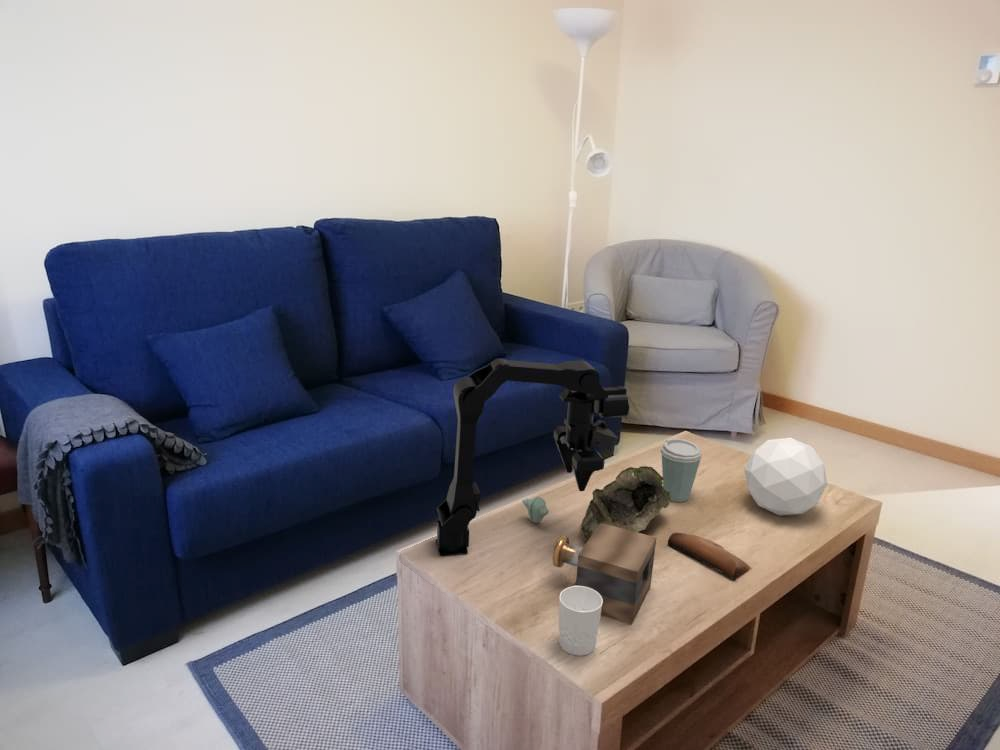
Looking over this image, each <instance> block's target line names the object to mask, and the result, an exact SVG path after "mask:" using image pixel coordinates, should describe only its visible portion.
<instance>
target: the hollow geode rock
mask: <svg viewBox="0 0 1000 750" xmlns="http://www.w3.org/2000/svg"><path fill="white" fill-rule="evenodd" d="M618 473H619V474H617V476H616V477H615V480H613V481H612V482H609V483H608V484H606V485H605V486H603V488H602V489H599V488H595V489H593V490H592V499H591V500H590V501H589V504H588V507H587V509H586V512H585V515H584V517H583V519H582V520H581V524H580V527H581V529H580V530H581V531H582V537H583V539H584V540H585V541H586V543H587V542H588V540H589V539H590V537H591V536H592V534H593V533H594V532H595V530H596V529H597V527H598V526H599V524H600V523H603V524H607V525H611V526H615V527H619V528H622V529H626V530H630V531H634V532H638V533H640V532H641V531H642V530H643V531H645V530H646V529H647V526H648V525H649V523H650V522H651V521H652V519H654V518H655V517H657V516H658V515H659V514H660V512H661V511H662V509H666V508H667V507H669V505H670V501H671V500H670V499H671V497H670V492H667V491H666V490H665V489H664V487H663V475H661V474H660V473H659V472H658V471H657V470H656V469H655V468H654V467H652V466H645V465H644V466H642V465H641V466H639V467H631V466H630V467H627V468H625V469H622V470H621V471H620V472H618Z"/></svg>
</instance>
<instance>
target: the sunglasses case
mask: <svg viewBox="0 0 1000 750" xmlns="http://www.w3.org/2000/svg"><path fill="white" fill-rule="evenodd" d="M667 545H668V546H671V547H672V548H675V549H677V550H680V551H681V552H683V553H685V554H688V555H691V556H692V557H694V558H696V559H697V560H698V561H701V562H702V563H705V564H707V565H708V566H710V567H711V568H713V569H715V570H716V571H719V572H721V573H722V574H724V575H726V576H727V577H729V578H731V579H733V580H734V581H737V580H738V579H739V578H740V577H742V576H744V575H745V574H747V573H748V572H749V571H751V570H752V569H753V568H752V567H751V566H750V565H749V564H748V563H747V562H745V561H744V560H742V559H741V558H740V557H739V556H736V555H735V554H733V553H731V552H730V551H728V550H726V549H725V548H724V546H722V545H720V544H718V543H716V542H714V541H713V540H710V539H707V538H704V537H701V536H699V535H695V534H691V533H685V532H673V533H671V534H670V536H669V537H668V539H667Z"/></svg>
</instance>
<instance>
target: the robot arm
mask: <svg viewBox="0 0 1000 750" xmlns="http://www.w3.org/2000/svg"><path fill="white" fill-rule="evenodd" d="M600 378H601V377H600V374H599V372H598V371H597V370H596V369H595V368H594V367H593V366H592V365H590V363H589V362H587V361H586V360H582V359H581V360H578V359H577V360H570V361H569V360H567V361H564V362H560V363H544V362H535V361H534V362H533V361H522V360H511V359H504V358H503V357H502V358H501V357H500V358H499V357H498V358H495V359H494V360H492V361H491V362H490V363H488V364H487V365H485V366H483V367H481V368H479V369H476V370H475V371H473V372H472V373H470V374H469V375H468V376H466V377H462V378H459V380H458V381H455V383H454V386H453V398H454V405H455V411H456V417H457V424H456V425H457V427H456V428H457V429H456V441H455V442H456V443H455V457H454V470H453V471H454V473H453V478H452V480H451V483H450V485H449V488H448V491H447V494H446V499H444V500H443V501H442V502H441V503H440V504H439V505H438V506H437V507H436V510H437V513H438V517H439V520H437V521H436V524H437V526H436V527H437V529H436V530H437V533H436V539H435V544H436V548H437V553H438V555H439V557H446V556H456V555H467V554H469V550H468V547H470V529H469V525H470V522H471V521H473V520H474V519H475V518H476V516H477V512H480V510H481V509H480V507H479V503H480V499H481V493H480V490H479V489H480V488H479V487H478V485H477V483H476V482H475V481H473V480H474V466H475V465H474V464H475V456H476V455H475V453H476V440H477V439H476V438H477V425H478V423H479V421H480V418H481V417H482V415H483V411H484V407H485V403H486V401H488V400H489V399H490V398H492V396H493V395H495V393H496V392H497V391H498V390H499V389H500V387H501V386H502V385H503V384H504V383H506V382H517V383H531V384H541V385H542V384H544V385H555V386H559V387H562V388H564V389H565V390H564V391H562V392H561V393H559V395H558V396H559V397H560V399H561V400H562V401H563V403H567V413H566V414H567V416H566V418H564V419H563V420H564V421H563V423H564V425H559V426H558V425H557V427H556V428H555V429H554V430H553V438H554V441H555V444H556V446H557V449H558V452H559V454H560V458H561V460H562V463H563V465H564V468H565V471H566V473H567V474H571V473H573V474H574V478H575V481H576V485H577V489H578V491H579V492H584V491H585V490H586V487H587V486H588V483H589V482H590V480H591V479H590V478H591V476H592V475H593V474H594V473H595V472H599V471H601V470H602V471H603V470H604V469H605V462H606V461H605V459H604V458H603V457H602V456H601V454H600V453H599V452H598V451H597V450H589V448H590V449H595V448H597V446H599V447H602V448H606V449H607V450H610V451H611V450H613V449H614V446H615V444H616V443H617V442H616V441H617V439H618V436H617V435H616V434H615V433H614V431H612V430H611V429H609V428H607V423H606V422H605V421H603V420H600V419H598V420H597V421H596V422H594V413H595V414H598V416H599V417H600V418H601V419H603V418H604V419H605V418H623V417H627V416H628V415H629V411H630V404H629V397H628V395H627V391H628V390H627V389H626V388H625V386H623V385H622V386H619V385H618V386H613V387H610V386H609V387H603V386H602V385H601V383H600V380H601V379H600Z"/></svg>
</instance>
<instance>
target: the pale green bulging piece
mask: <svg viewBox="0 0 1000 750" xmlns="http://www.w3.org/2000/svg"><path fill="white" fill-rule="evenodd" d="M521 502H522V503H523V505H524V506H525V508H526V510H527V513H528V514H527V515H528V517H529V519H530V520H531V522H532V523H535V524H539V523H540V522H541V521H543V519H544V517H546V516H548V514H549V509H548V508H547V503H546V501H545V499H544V498H543V497H541V496H537V495H536V496H535V497H531V498H528V497H527V498H525V499H522V500H521Z"/></svg>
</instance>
